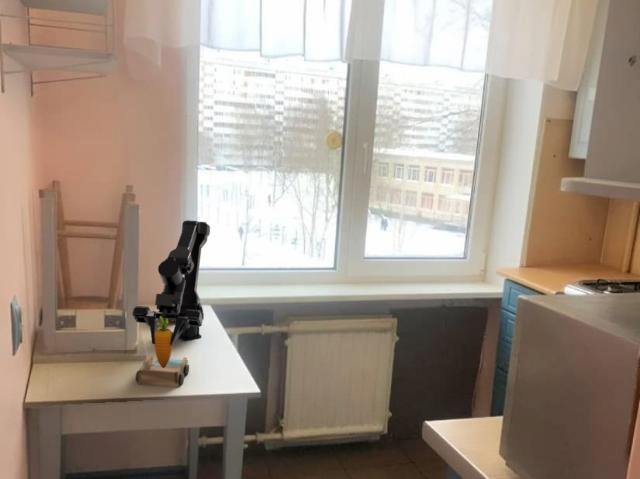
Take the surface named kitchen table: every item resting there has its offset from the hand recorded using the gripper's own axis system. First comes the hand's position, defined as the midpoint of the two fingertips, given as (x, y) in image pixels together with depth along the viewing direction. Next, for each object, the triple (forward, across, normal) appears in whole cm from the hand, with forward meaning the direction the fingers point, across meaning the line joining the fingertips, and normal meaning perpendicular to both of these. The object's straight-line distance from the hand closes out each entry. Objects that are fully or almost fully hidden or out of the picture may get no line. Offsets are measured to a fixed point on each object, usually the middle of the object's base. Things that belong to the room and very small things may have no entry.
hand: (162, 344), depth 164 cm
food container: (-26, -10, +41) cm, 50 cm away
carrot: (+5, 0, +6) cm, 8 cm away
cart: (+4, 0, +10) cm, 11 cm away
